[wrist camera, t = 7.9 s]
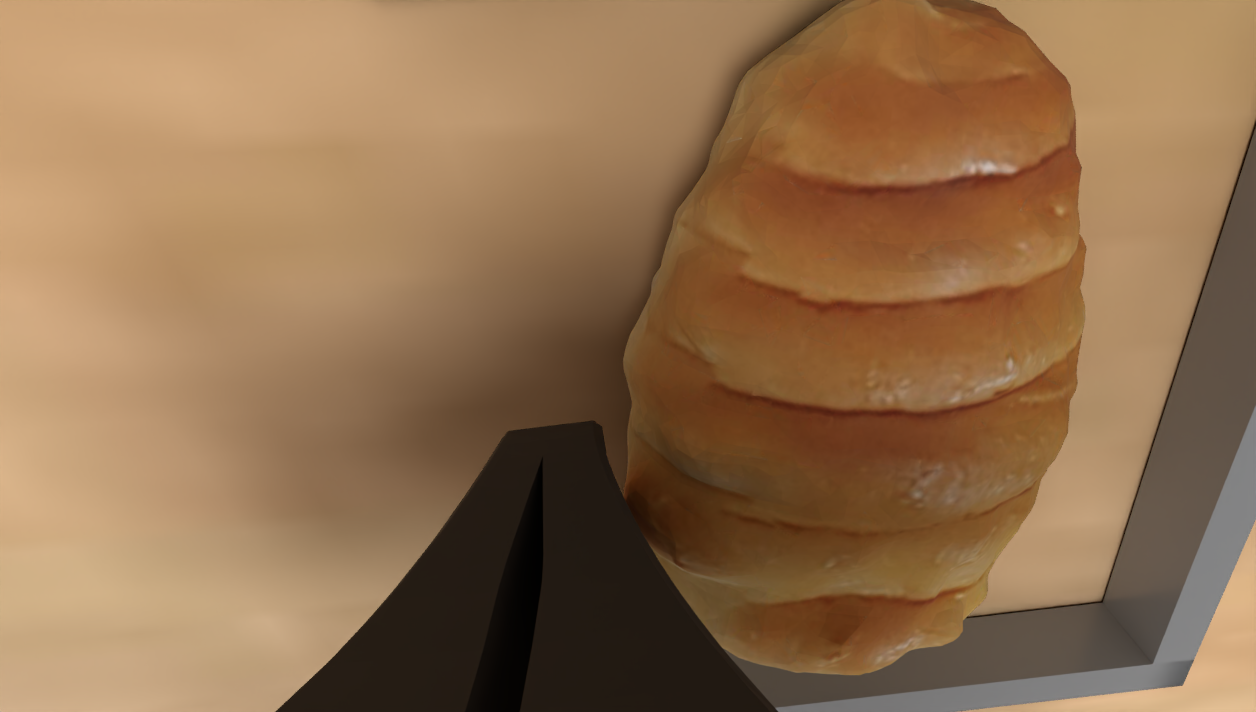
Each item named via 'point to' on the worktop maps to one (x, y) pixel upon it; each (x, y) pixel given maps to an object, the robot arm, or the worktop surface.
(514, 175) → the worktop surface
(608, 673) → the robot arm
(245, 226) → the worktop surface
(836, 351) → the pastry
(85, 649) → the worktop surface
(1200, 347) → the grey u-shaped bracket
